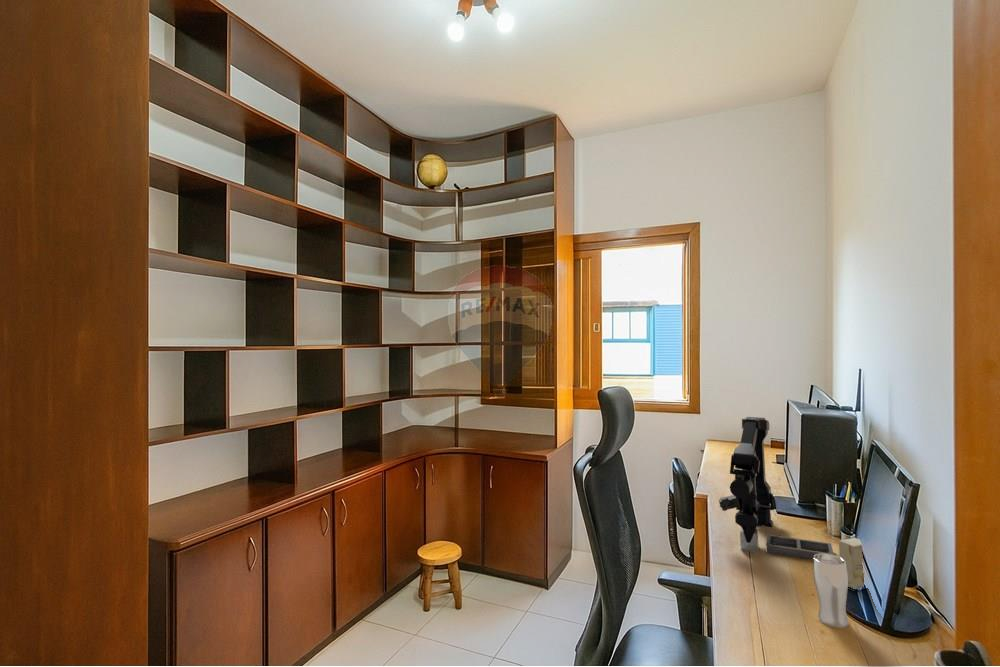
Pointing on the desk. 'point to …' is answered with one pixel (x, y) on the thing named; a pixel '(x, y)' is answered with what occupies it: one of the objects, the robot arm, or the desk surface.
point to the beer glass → (831, 589)
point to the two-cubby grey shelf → (796, 543)
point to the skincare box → (853, 561)
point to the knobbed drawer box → (753, 544)
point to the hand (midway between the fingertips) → (749, 537)
